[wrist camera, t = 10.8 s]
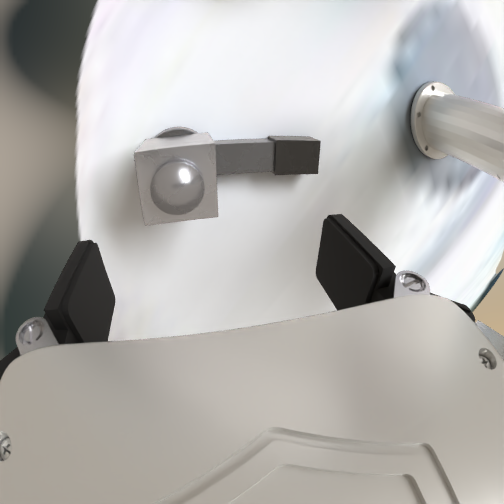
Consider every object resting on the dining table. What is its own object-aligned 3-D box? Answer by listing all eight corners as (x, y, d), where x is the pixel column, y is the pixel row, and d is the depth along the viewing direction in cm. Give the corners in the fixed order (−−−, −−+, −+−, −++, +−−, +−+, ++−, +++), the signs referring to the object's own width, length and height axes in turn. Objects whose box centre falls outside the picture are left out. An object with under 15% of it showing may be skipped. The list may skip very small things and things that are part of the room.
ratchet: (310, 123, 29) (344, 134, 23) (306, 179, 33) (336, 203, 26) (142, 131, 25) (130, 142, 19) (149, 192, 29) (141, 221, 23)
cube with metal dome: (207, 132, 24) (217, 145, 18) (210, 190, 27) (220, 222, 21) (145, 139, 23) (131, 155, 17) (151, 197, 26) (143, 231, 20)
